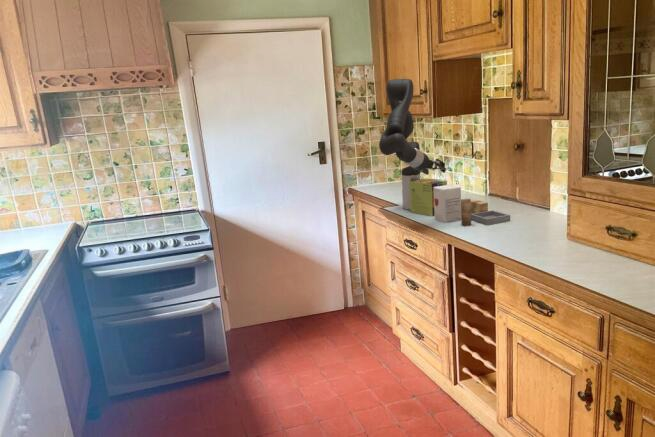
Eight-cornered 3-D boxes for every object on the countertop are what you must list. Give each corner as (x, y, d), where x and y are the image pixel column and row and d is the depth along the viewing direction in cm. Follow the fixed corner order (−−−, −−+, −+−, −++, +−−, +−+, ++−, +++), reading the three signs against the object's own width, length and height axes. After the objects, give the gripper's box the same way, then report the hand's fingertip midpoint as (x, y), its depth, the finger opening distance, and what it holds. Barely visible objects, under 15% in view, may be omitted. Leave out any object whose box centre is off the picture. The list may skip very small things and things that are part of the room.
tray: (470, 219, 230) (469, 214, 229) (492, 215, 234) (492, 210, 233) (486, 225, 219) (486, 219, 218) (510, 220, 223) (510, 215, 222)
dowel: (459, 224, 224) (459, 199, 221) (467, 223, 225) (467, 198, 223) (465, 226, 220) (464, 201, 218) (473, 224, 221) (472, 199, 219)
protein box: (432, 216, 242) (431, 183, 239) (410, 212, 255) (408, 180, 251) (448, 212, 248) (447, 180, 244) (425, 208, 260) (424, 177, 257)
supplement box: (433, 219, 237) (432, 186, 234) (450, 216, 240) (449, 184, 237) (444, 222, 229) (443, 189, 225) (462, 219, 232) (461, 186, 228)
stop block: (467, 213, 243) (467, 200, 241) (474, 211, 244) (474, 199, 242) (480, 217, 233) (480, 204, 232) (487, 215, 235) (487, 202, 233)
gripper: (431, 147, 211) (451, 161, 222) (402, 152, 221) (423, 165, 232) (429, 165, 210) (449, 178, 221) (400, 169, 219) (421, 181, 231)
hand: (436, 171), depth 226 cm, fingers open, 8 cm apart
